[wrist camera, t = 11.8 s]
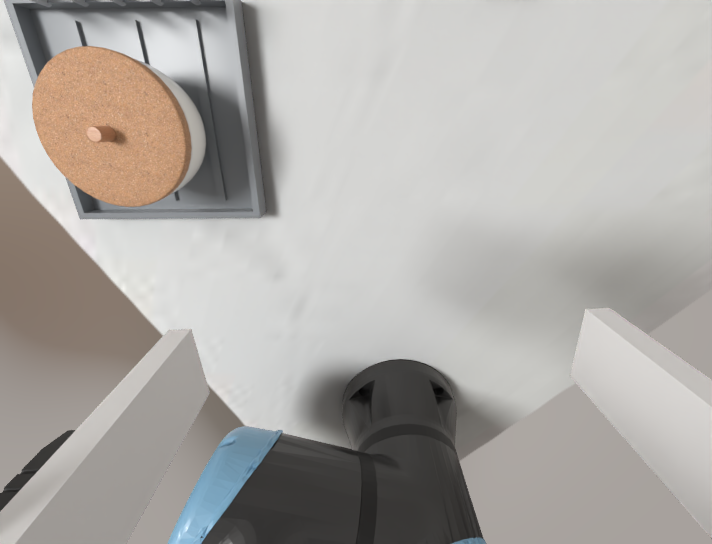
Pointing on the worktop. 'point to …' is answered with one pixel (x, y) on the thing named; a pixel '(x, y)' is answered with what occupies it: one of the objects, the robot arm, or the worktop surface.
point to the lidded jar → (117, 126)
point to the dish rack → (185, 67)
